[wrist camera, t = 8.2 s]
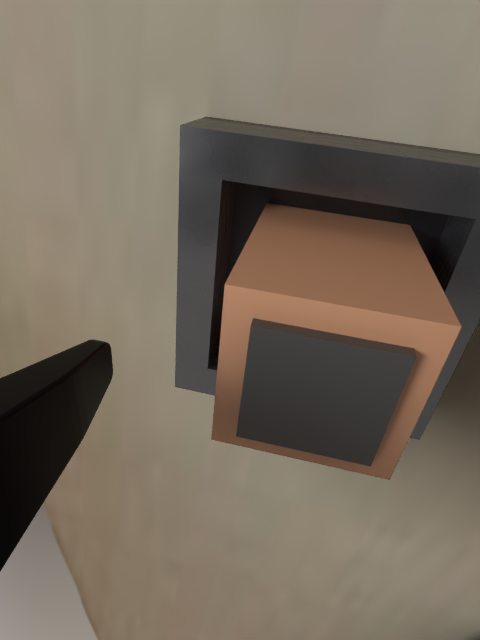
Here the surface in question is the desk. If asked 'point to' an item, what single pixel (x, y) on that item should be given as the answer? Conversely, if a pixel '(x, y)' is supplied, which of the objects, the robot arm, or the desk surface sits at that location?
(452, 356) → the socket
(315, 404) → the plug
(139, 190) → the desk surface
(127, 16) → the desk surface
